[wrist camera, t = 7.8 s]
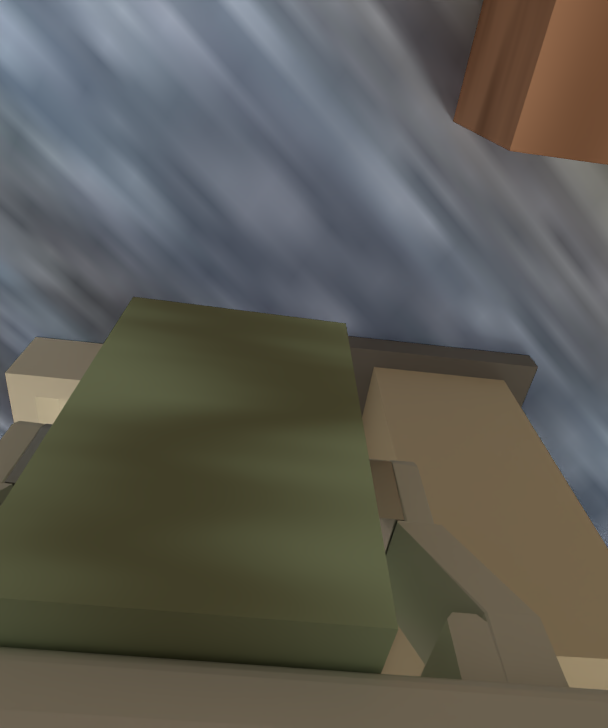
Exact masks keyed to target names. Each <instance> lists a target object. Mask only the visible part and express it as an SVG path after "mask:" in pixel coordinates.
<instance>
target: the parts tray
mask: <svg viewBox="0 0 608 728" xmlns="http://www.w3.org/2000/svg"><path fill="white" fill-rule="evenodd" d="M102 345H103V344H99V343H90V342H80V341H70V340H60V339H51V338H41V337H35V338H34V340H33V341H32V342H31V343H30V344H29V345H28V347H27V348H26V349H25V350H24V351H23V352H22V354H21V355H20V356H19V357H18V358H17V359H16V361H15V362H14V363H13V364H12V365H11V366H10V368H9V369H8V370H7V371H6V372H5V376H6V382H7V387H8V393H9V398H10V403H11V409H12V414H13V420H14V423H15V422H17V421H26V422H35V423H43V424H53V423H54V421H55V420H56V418H57V417H58V415H59V413H60V412H61V410H62V409H63V407H64V405H65V404H66V402H67V401H68V399H69V398H70V396H71V394H72V393H73V391H74V390H75V388H76V387H77V385H78V383H79V382H80V380H81V379H82V377H83V375H84V374H85V372H86V371H87V369H88V368H89V366H90V364H91V363H92V361H93V360H94V358H95V356H96V355H97V353H98V352H99V350H100V349H101V347H102Z"/></svg>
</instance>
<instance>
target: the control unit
mask: <svg viewBox="0 0 608 728" xmlns="http://www.w3.org/2000/svg"><path fill="white" fill-rule="evenodd" d="M348 339H349V345H350V351H351V357H352V362H353V368H354V374H355V380H356V386H357V392H358V397H359V403H360V409H361V415H362V421H363V426H364V432H365V438H366V444H367V450H368V455H369V459H378V460H387V461H389V460H395V461H407V462H414V463H415V464H416V465H417V467H418V470H419V474H420V477H421V480H422V484H423V487H424V491H425V494H426V498H427V501H428V504H429V508H430V511H431V515H432V518H433V522H434V524H437V525H442V526H443V527H444V528H445V529H446V530H448V531H449V532H450V533H451V534H452V535H453V536H454V537H455V538H456V539H457V540H458V541H459V542H460V543H461V544H462V545H463V546H464V547H466V548H467V549H468V550H469V551H470V552H471V553H472V554H473V555H474V556H475V557H476V558H477V559H478V560H479V561H480V562H481V563H483V564H484V565H485V566H486V567H487V568H488V569H489V570H490V571H491V572H492V573H493V574H494V575H495V576H496V577H497V578H498V579H499V580H501V581H502V582H503V583H504V584H505V585H506V586H507V587H508V588H509V589H510V590H511V591H512V592H513V593H514V594H515V595H516V596H518V597H519V598H520V599H521V600H522V601H523V602H524V603H525V604H526V605H527V606H528V607H529V608H530V609H531V610H532V611H533V612H534V613H536V614H537V615H538V616H539V617H540V619H541V621H542V624H543V626H544V628H545V631H546V633H547V635H548V638H549V640H550V643H551V645H552V647H553V650H554V652H555V654H556V657H557V659H558V662H559V664H560V666H561V669H562V671H563V674H564V676H565V678H566V681H567V683H568V685H569V687H573V688H587V689H601V690H608V548H607V546H606V545H605V543H604V541H603V540H602V538H601V537H600V535H599V533H598V532H597V530H596V528H595V527H594V525H593V524H592V522H591V520H590V519H589V517H588V516H587V514H586V512H585V511H584V509H583V507H582V506H581V504H580V503H579V501H578V499H577V498H576V496H575V494H574V493H573V491H572V490H571V488H570V486H569V485H568V483H567V481H566V480H565V478H564V477H563V475H562V473H561V472H560V470H559V469H558V467H557V465H556V464H555V462H554V460H553V459H552V457H551V456H550V454H549V452H548V451H547V449H546V447H545V446H544V444H543V443H542V441H541V439H540V438H539V436H538V435H537V433H536V431H535V430H534V428H533V426H532V425H531V423H530V422H529V420H528V418H527V417H526V415H525V413H524V412H523V410H522V409H521V407H522V404H523V402H524V400H525V397H526V395H527V392H528V390H529V388H530V385H531V383H532V380H533V378H534V376H535V373H536V371H537V368H538V367H537V365H536V364H535V363H534V361H533V360H532V359H531V357H530V356H528V355H519V354H510V353H501V352H491V351H482V350H473V349H463V348H454V347H445V346H436V345H426V344H417V343H408V342H398V341H389V340H380V339H371V338H361V337H352V336H348ZM424 667H425V664H424V663H423V661H422V660H421V658H420V657H419V655H418V654H417V652H416V651H415V649H414V648H413V647H412V645H411V644H410V642H409V641H408V639H407V638H406V636H405V635H404V633H403V632H402V630H401V629H400V628H399V626H398V631H397V634H396V636H395V639H394V641H393V644H392V647H391V649H390V652H389V654H388V657H387V659H386V662H385V664H384V667H383V669H382V672H381V674H391V675H406V676H421V674H422V672H423V669H424Z"/></svg>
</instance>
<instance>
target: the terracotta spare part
mask: <svg viewBox="0 0 608 728" xmlns="http://www.w3.org/2000/svg"><path fill="white" fill-rule="evenodd" d="M453 122H455V123H457V124H459V125H461V126H463V127H465V128H467V129H469V130H471V131H473V132H474V133H476V134H478V135H480V136H482V137H484V138H486V139H488V140H490V141H492V142H494V143H496V144H497V145H499V146H501V147H503V148H505V149H507V150H509V151H514V152H522V153H529V154H536V155H543V156H550V157H557V158H564V159H571V160H578V161H585V162H593V163H600V164H607V165H608V0H484V1H483V5H482V9H481V13H480V17H479V21H478V24H477V28H476V32H475V36H474V40H473V44H472V48H471V52H470V56H469V60H468V64H467V68H466V72H465V76H464V80H463V84H462V88H461V92H460V96H459V100H458V104H457V108H456V112H455V116H454V120H453Z"/></svg>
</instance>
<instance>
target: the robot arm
mask: <svg viewBox="0 0 608 728" xmlns="http://www.w3.org/2000/svg"><path fill="white" fill-rule="evenodd" d="M51 426H52V424H43V423H35V422H26V421H17V422H15V423H13V424H12V425H11V426H10V428H9V429H8V430H7V432H6V433H5V434H4V436H3V437H2V438H1V440H0V507H1V505H2V503H3V502H4V500H5V499H6V497H7V496H8V494H9V492H10V491H11V489H12V488H13V486H14V485H15V483H16V481H17V480H18V478H19V477H20V475H21V473H22V472H23V470H24V469H25V467H26V466H27V464H28V462H29V461H30V459H31V458H32V456H33V454H34V453H35V451H36V450H37V448H38V447H39V445H40V443H41V442H42V440H43V439H44V437H45V436H46V434H47V432H48V431H49V429H50V428H51ZM369 461H370V467H371V473H372V479H373V485H374V490H375V496H376V502H377V508H378V514H379V519H380V525H381V531H382V537H383V543H384V548H385V554H386V560H387V566H388V572H389V577H390V583H391V589H392V595H393V601H394V607H395V612H396V618H397V624H398V626H399V628H400V629H401V630H402V632H403V633H404V635H405V636H406V638H407V639H408V641H409V642H410V644H411V645H412V647H413V648H414V649H415V651H416V652H417V654H418V655H419V657H420V658H421V660H422V661H423V663H424V664H425V667H424V669H423V672H422V674H421V676H406V675H391V674H377V673H363V672H349V671H334V670H320V669H306V668H292V667H277V666H263V665H249V664H235V663H221V662H207V661H193V660H179V659H165V658H151V657H137V656H123V655H109V654H95V653H82V652H68V651H54V650H40V649H26V648H12V647H0V728H608V690H601V689H587V688H573V687H569V685H568V683H567V681H566V678H565V676H564V674H563V671H562V669H561V666H560V664H559V662H558V659H557V657H556V654H555V652H554V650H553V647H552V645H551V643H550V640H549V638H548V635H547V633H546V631H545V628H544V626H543V624H542V621H541V619H540V617H539V616H538V615H537V614H536V613H534V612H533V611H532V610H531V609H530V608H529V607H528V606H527V605H526V604H525V603H524V602H523V601H522V600H521V599H520V598H519V597H518V596H516V595H515V594H514V593H513V592H512V591H511V590H510V589H509V588H508V587H507V586H506V585H505V584H504V583H503V582H502V581H501V580H499V579H498V578H497V577H496V576H495V575H494V574H493V573H492V572H491V571H490V570H489V569H488V568H487V567H486V566H485V565H484V564H483V563H481V562H480V561H479V560H478V559H477V558H476V557H475V556H474V555H473V554H472V553H471V552H470V551H469V550H468V549H467V548H466V547H464V546H463V545H462V544H461V543H460V542H459V541H458V540H457V539H456V538H455V537H454V536H453V535H452V534H451V533H450V532H449V531H448V530H446V529H445V528H444V527H443V526H442V525H437V524H434V522H433V518H432V515H431V511H430V508H429V504H428V501H427V498H426V494H425V491H424V487H423V484H422V480H421V477H420V474H419V470H418V467H417V465H416V464H415V463H414V462H407V461H395V460H389V461H387V460H378V459H369Z"/></svg>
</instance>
